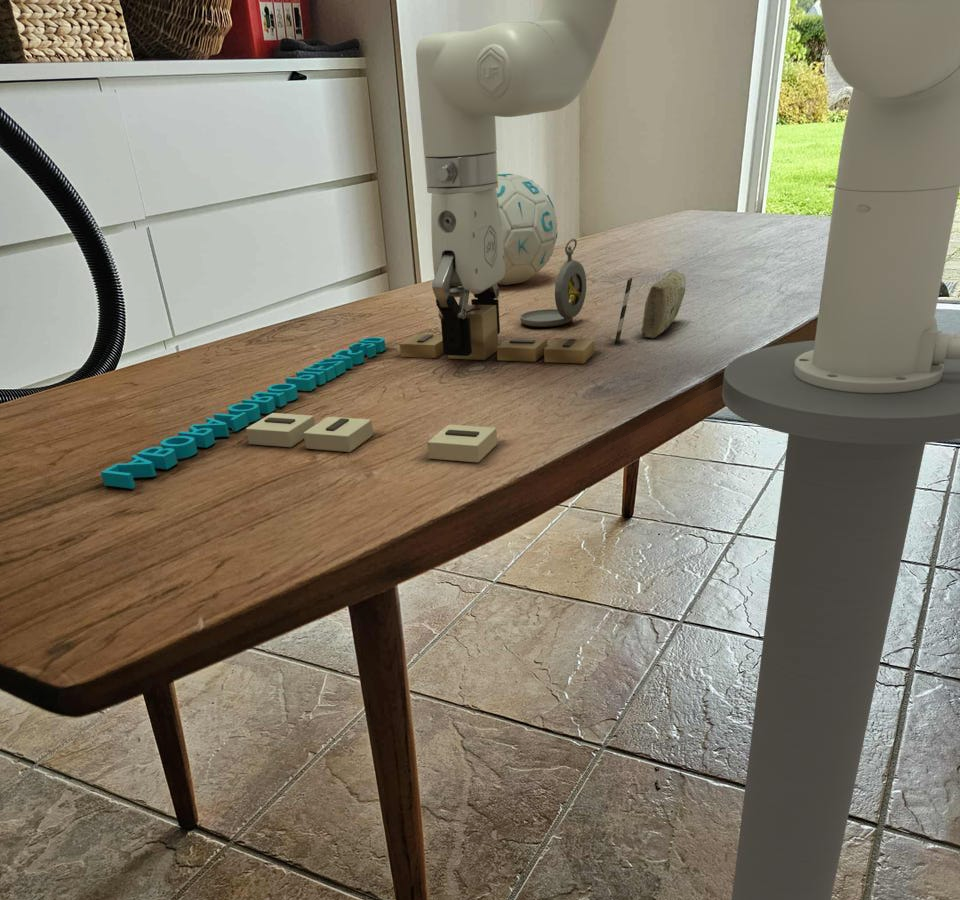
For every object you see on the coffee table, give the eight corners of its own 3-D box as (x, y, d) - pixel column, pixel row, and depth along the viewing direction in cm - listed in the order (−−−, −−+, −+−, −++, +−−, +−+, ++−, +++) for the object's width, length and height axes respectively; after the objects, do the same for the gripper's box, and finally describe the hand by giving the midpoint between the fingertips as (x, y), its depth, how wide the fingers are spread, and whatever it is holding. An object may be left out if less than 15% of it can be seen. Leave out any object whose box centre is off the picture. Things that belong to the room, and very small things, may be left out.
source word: (594, 353, 100) (594, 337, 100) (583, 363, 97) (583, 347, 96) (417, 346, 108) (415, 332, 107) (400, 356, 104) (399, 341, 104)
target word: (497, 444, 77) (496, 425, 76) (478, 462, 74) (477, 443, 73) (275, 428, 85) (272, 410, 84) (248, 444, 81) (244, 426, 81)
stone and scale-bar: (614, 344, 103) (642, 318, 112) (651, 353, 102) (677, 327, 111) (627, 280, 99) (655, 259, 108) (666, 289, 98) (692, 267, 107)
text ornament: (132, 488, 73) (128, 475, 73) (104, 485, 74) (100, 472, 74) (389, 347, 108) (388, 337, 107) (368, 346, 109) (366, 336, 108)
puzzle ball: (498, 271, 147) (493, 168, 139) (577, 277, 139) (576, 168, 131) (440, 289, 137) (431, 180, 129) (521, 296, 129) (517, 180, 121)
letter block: (498, 349, 104) (496, 303, 102) (484, 360, 101) (482, 312, 98) (463, 348, 106) (459, 303, 103) (448, 358, 102) (444, 312, 100)
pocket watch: (519, 318, 117) (516, 235, 112) (584, 314, 117) (584, 231, 111) (521, 334, 110) (518, 246, 105) (590, 329, 110) (590, 241, 104)
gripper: (463, 183, 86) (475, 366, 95) (522, 164, 99) (528, 327, 108) (393, 185, 88) (411, 364, 97) (460, 167, 102) (470, 325, 111)
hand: (472, 343), depth 103 cm, fingers open, 8 cm apart
